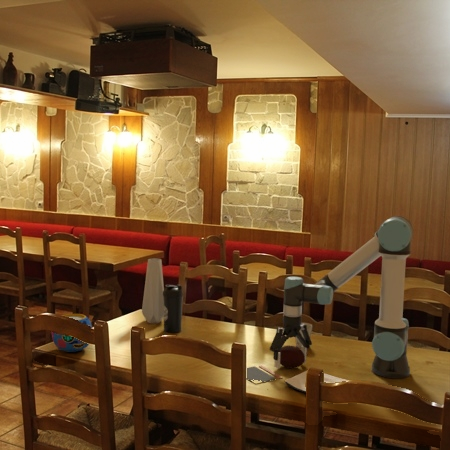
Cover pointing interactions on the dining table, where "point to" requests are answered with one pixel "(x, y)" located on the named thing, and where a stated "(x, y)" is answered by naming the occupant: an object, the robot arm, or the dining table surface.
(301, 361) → the potato
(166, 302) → the water bottle
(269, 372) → the pink thin rod
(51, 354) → the dining table surface
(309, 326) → the mug
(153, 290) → the vase
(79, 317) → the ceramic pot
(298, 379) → the plate
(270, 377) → the mat
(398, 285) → the robot arm
